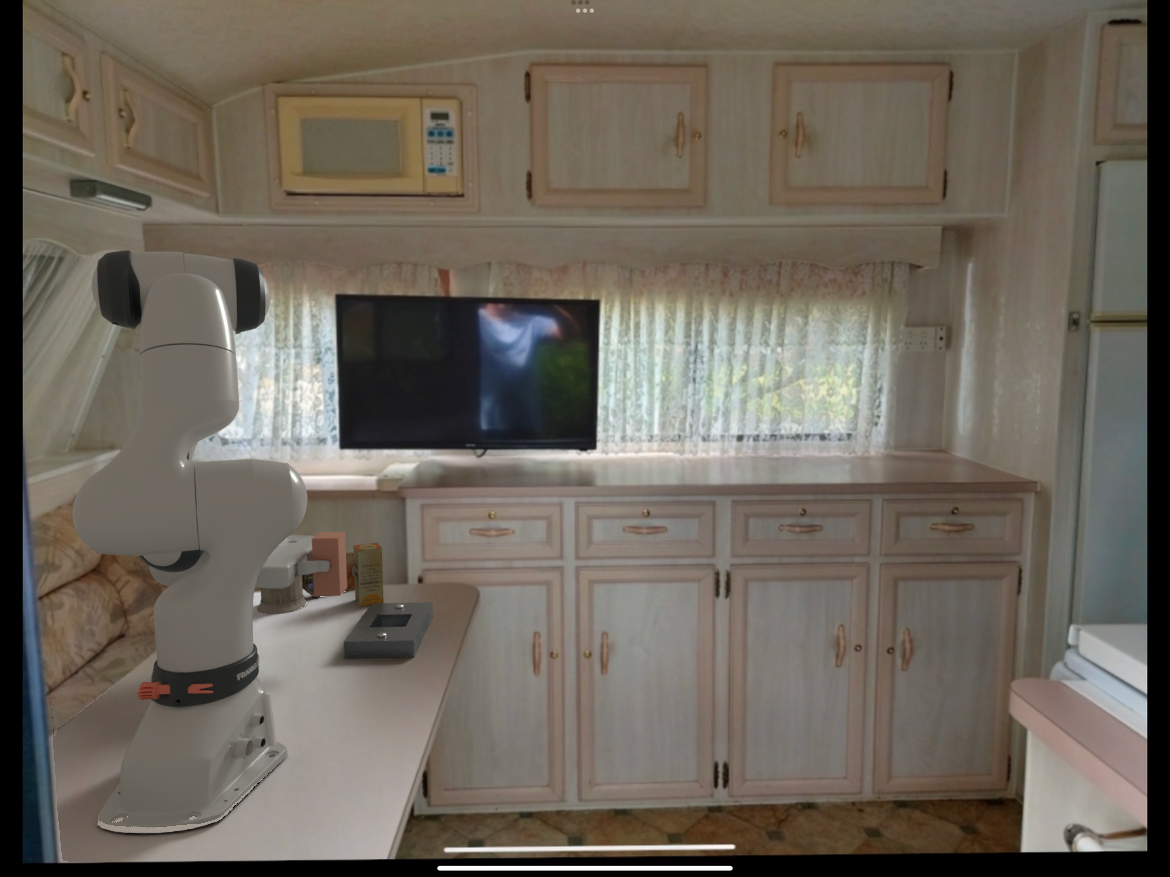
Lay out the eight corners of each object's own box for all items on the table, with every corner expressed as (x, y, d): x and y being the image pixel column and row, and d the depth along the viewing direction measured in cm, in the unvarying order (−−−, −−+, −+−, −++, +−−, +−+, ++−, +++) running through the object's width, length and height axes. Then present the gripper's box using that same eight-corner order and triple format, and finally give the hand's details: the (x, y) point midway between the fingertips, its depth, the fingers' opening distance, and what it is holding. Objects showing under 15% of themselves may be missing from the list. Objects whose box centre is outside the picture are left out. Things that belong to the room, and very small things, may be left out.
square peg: (340, 595, 127) (338, 538, 125) (314, 596, 126) (311, 538, 125) (347, 587, 131) (345, 532, 130) (321, 587, 131) (319, 532, 130)
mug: (259, 600, 159) (257, 546, 158) (308, 596, 162) (306, 542, 161) (251, 624, 145) (248, 564, 144) (304, 618, 148) (302, 560, 147)
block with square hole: (414, 657, 129) (413, 638, 129) (344, 658, 129) (343, 640, 128) (432, 616, 149) (432, 600, 149) (372, 617, 149) (371, 601, 148)
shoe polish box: (378, 596, 162) (377, 542, 160) (383, 603, 157) (381, 548, 156) (355, 600, 159) (353, 545, 158) (359, 606, 155) (357, 550, 154)
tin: (305, 601, 159) (303, 563, 158) (299, 598, 161) (297, 560, 160) (371, 586, 169) (369, 550, 168) (364, 583, 171) (363, 547, 170)
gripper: (226, 560, 117) (315, 559, 117) (273, 529, 137) (349, 528, 138) (228, 599, 117) (317, 597, 118) (275, 562, 138) (351, 561, 138)
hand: (335, 560), depth 128 cm, fingers closed on square peg, 4 cm apart
